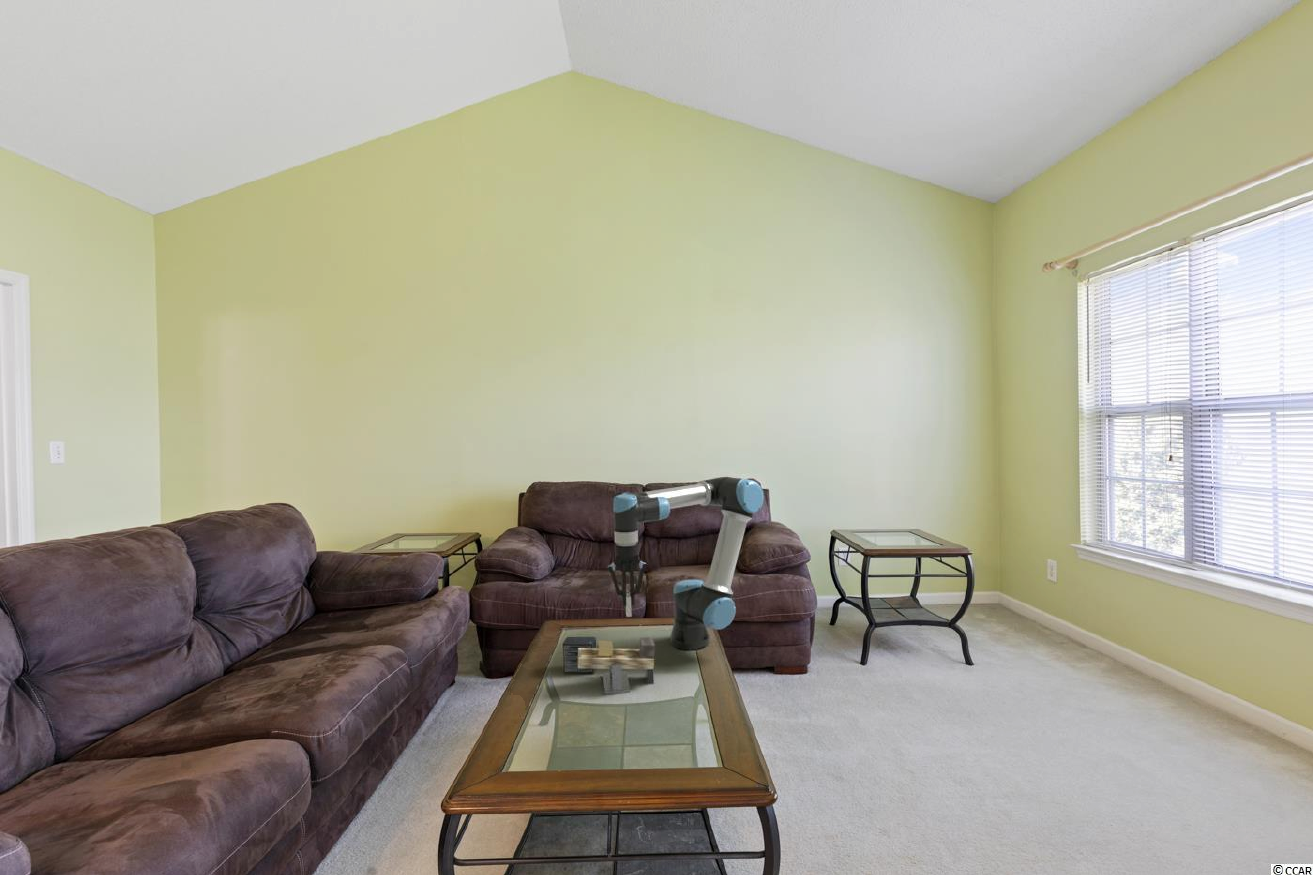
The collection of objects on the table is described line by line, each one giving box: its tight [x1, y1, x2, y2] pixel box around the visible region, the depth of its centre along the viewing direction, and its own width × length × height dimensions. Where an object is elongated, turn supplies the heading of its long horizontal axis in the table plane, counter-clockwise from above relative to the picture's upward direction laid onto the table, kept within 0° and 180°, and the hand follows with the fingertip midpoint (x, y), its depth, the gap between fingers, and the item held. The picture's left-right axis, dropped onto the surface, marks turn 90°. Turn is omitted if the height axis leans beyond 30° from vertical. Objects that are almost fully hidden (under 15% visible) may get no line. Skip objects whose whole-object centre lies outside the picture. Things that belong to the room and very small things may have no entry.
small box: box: [562, 636, 597, 675], centre depth 189 cm, size 11×6×10 cm, turn 84°
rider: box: [597, 640, 614, 658], centre depth 177 cm, size 4×4×5 cm
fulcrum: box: [601, 647, 655, 696], centre depth 179 cm, size 16×12×9 cm
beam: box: [578, 637, 656, 670], centre depth 178 cm, size 24×9×7 cm, turn 99°
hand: (628, 615), depth 178 cm, fingers closed
